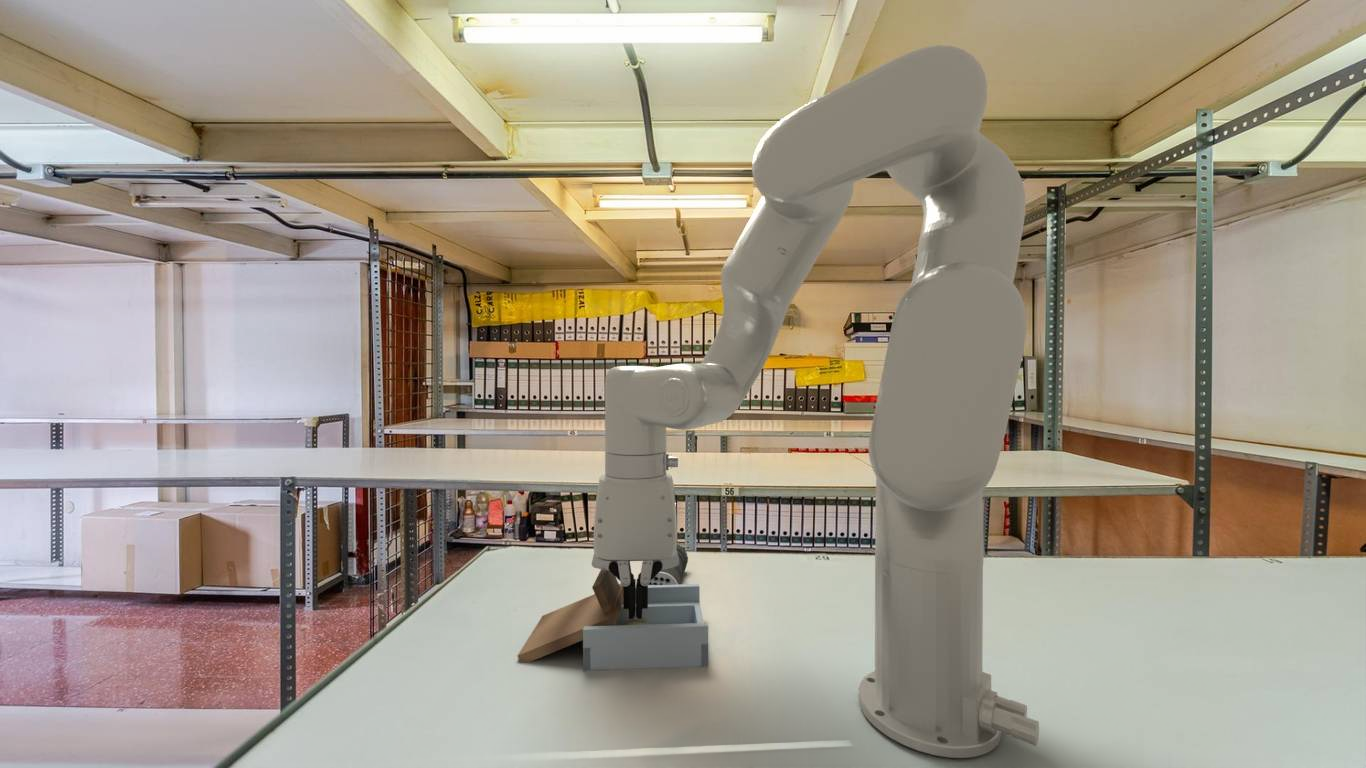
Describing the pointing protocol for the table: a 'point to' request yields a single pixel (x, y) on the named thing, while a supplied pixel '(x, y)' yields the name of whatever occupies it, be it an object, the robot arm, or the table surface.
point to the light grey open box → (652, 634)
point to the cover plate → (575, 619)
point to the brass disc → (636, 623)
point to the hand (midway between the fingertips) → (635, 613)
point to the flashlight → (672, 571)
